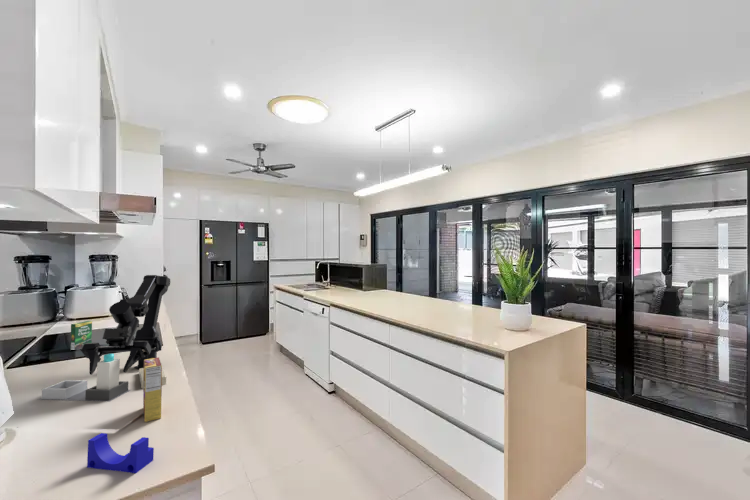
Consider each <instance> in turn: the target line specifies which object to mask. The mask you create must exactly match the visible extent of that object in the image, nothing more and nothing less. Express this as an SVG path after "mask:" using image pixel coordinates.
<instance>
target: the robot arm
mask: <svg viewBox="0 0 750 500" xmlns="http://www.w3.org/2000/svg"><path fill="white" fill-rule="evenodd" d="M142 279H143V280H142V282H141V284H140V286H139V287H138V289H137V291H136V292H135V294H134V295H133V296H131V297H130V298H127V299H126V298H125V299H120V300H119V301H118V302H115V303H113V304H112V305H111V306H110V307H109V308H108V309H109V310H108V311H109V313H110V314H111V317H112V319H113V321H114V322H115V323H116V324H118V325H117V326H116V328H104V330H103V331H104V332H103V335H102V340H106V341H105V344H107V345H105V346H101V344H100V342H92V343H86V344H84V345H83V346H82V348H81V350H80V352H81V353H82V354H83V355H84V357H85V358H86V359H89V366H88V368H89V373H88V374H89V375H93V374H94V373H95V371H96V370H97V363H98V362H101V361H102V358H101V357H102V356H103V354H104V353H122V352H123V353H126V352H129V356H127V359H126V362H125V364H124V366H123V370H122V372H123V373H127V371H128V370H130V368H132V367H133V366H134V365H135V366H134V369H140V368H144V360H146V359H152V358H158V357H157V352H160V351H162V347H163V344H162V341H161V339H160V333H159V332H158V330H157V325H158V319H159V315H160V314H159V313H160V309H161V303H162V299H163V296H164V295H165V294H166V293H167V292H168V290H169V287H170V285H171V278H169V277H168V276H167V275H157V274H145V275H144V276H143V277H142ZM142 317H144V319H143V324H142V327H141V328H140V319H139V318H142ZM137 328H139V329H137ZM131 343H132V344H131ZM136 363H137V365H136Z"/></svg>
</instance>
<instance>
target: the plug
mask: <svg viewBox="0 0 750 500" xmlns="http://www.w3.org/2000/svg"><path fill="white" fill-rule="evenodd" d="M120 363H121V362H120V358H115V354H114V352H110V353H106V354H104V355H103V360H100V362H98V363H97V367H96V370H97V371H96V385H95V386H96V389H106V390H109V389H111V388H114V387H116V386H118V385H119V381H120V366H121V365H120Z"/></svg>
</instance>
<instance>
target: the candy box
mask: <svg viewBox="0 0 750 500" xmlns="http://www.w3.org/2000/svg"><path fill="white" fill-rule="evenodd" d="M162 368H163V365H162V362H161V359H160V357H157V358H152V359H146V360H144V377H143V394H142V395H143V398H142V400H143V402H142V403H143V416H144V417H143V418H144V423H147V422H153V421H156V420H159V419H162V398H163V397H162V394H163V393H162V389H163V388H162V386H163V385H162Z"/></svg>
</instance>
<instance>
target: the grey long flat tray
mask: <svg viewBox="0 0 750 500" xmlns="http://www.w3.org/2000/svg"><path fill="white" fill-rule="evenodd" d="M131 391H132V389H129V381H127V380H126V381H124V380H123V381H121V380H119V385H118V386H116V387H114V388H111V389H109V390H106V389H96V385H94V386H92V387H89V388H88V380H83V379H82V380H79V379H78V380H76V379H75V380H73V379H63V380H62V381H59V382H57V383H55V384H52V385H49V386H46V387H43V388H42V389H41V397H40V398H38V399H36V401H72V402H73V401H74V402H75V401H76V402H106V403H107V402H111V401H113V400H115V399H117V398H119V397H122V396H123V395H124V394H126V393H129V392H131Z"/></svg>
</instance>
